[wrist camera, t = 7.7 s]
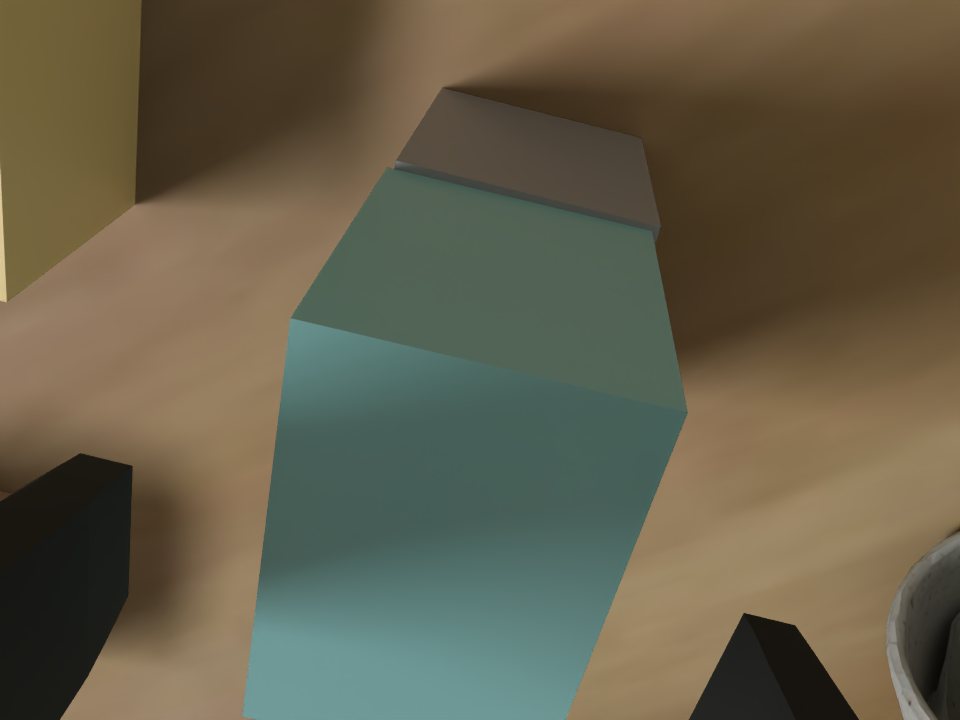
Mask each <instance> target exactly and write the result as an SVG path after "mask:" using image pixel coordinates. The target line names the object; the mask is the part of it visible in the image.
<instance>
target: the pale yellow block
mask: <svg viewBox="0 0 960 720" xmlns="http://www.w3.org/2000/svg"><path fill="white" fill-rule="evenodd" d="M141 5H142V0H0V301H4V302H8V301H9V300H10V299H12V298H13V297H14V296H16V295H17V294H18V293H20V292H21V291H22V290H24V289H25V288H26V287H27V286H29V285H30V284H31V283H33V282H34V281H35V280H37V279H38V278H39V277H41V276H42V275H43V274H45V273H46V272H47V271H48V270H50V269H51V268H52V267H54V266H55V265H56V264H58V263H59V262H60V261H62V260H63V259H64V258H66V257H67V256H68V255H70V254H71V253H72V252H73V251H75V250H76V249H77V248H79V247H80V246H81V245H83V244H84V243H85V242H87V241H88V240H89V239H91V238H92V237H93V236H95V235H96V234H97V233H98V232H100V231H101V230H102V229H104V228H105V227H106V226H108V225H109V224H110V223H112V222H113V221H114V220H116V219H117V218H118V217H119V216H121V215H122V214H123V213H125V212H126V211H127V210H129V209H130V208H131V207H133V206H134V205H135V190H136V159H137V128H138V97H139V67H140V36H141Z"/></svg>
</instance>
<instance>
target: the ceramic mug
mask: <svg viewBox="0 0 960 720" xmlns="http://www.w3.org/2000/svg"><path fill="white" fill-rule="evenodd" d="M886 650H887V656H888V661H889V667H890V673H891V676H892V680H893V684H894V687H895V691H896V694H897V697H898V700H899V703H900V707H901V711H902V714H903V718H904V720H960V531H959V532H957V533H955V534H953V535H951V536H949V537H947V538H946V539H944V540H943V541H941V542H940V543H938V544H937V545H936V546H935V547H933V548H932V549H931V550H930V551H929V552H927V553H926V554H925V555H924V556H923V557H922V558H921V559H920V560H919V561H917V562H916V563H915V564H914V565H913V566H912V568H911V569H910V571H909V572H908V574H907V576H906V577H905V579H904V580H903V582H902V583H901V584H900V586H899V588H898V590H897V592H896V595H895V597H894V599H893V601H892V604H891V608H890V612H889V616H888V621H887V636H886Z"/></svg>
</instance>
